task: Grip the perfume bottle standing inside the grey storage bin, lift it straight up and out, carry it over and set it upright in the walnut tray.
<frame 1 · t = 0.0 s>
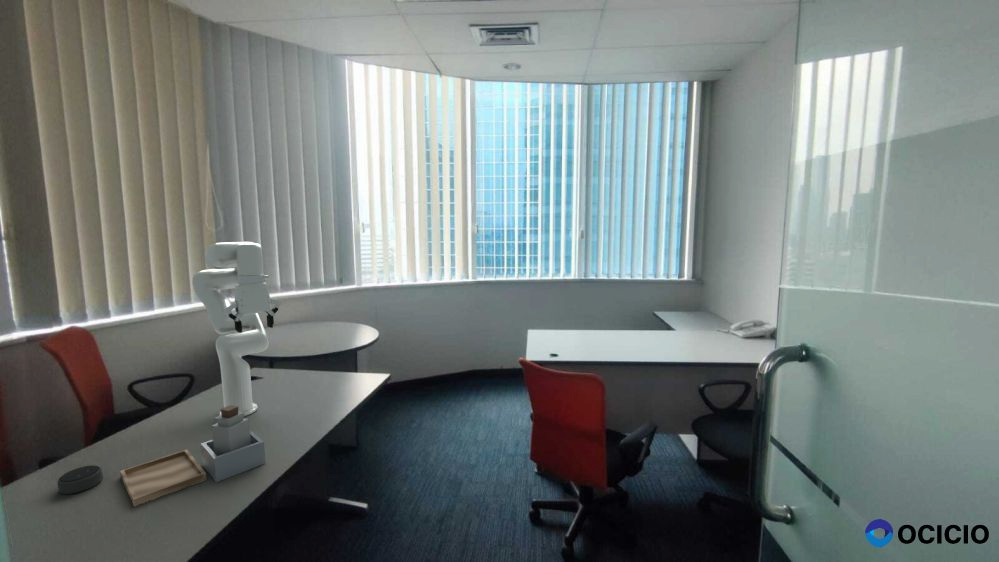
hand: (255, 329, 147), 37 cm above the table, tool pointing down, fingers open, 9 cm apart
smart speaker: (81, 486, 120), on the table
tray: (163, 478, 124), on the table
perfume bottle: (234, 464, 131), resting in grey storage bin
grey storage bin: (234, 464, 131), on the table
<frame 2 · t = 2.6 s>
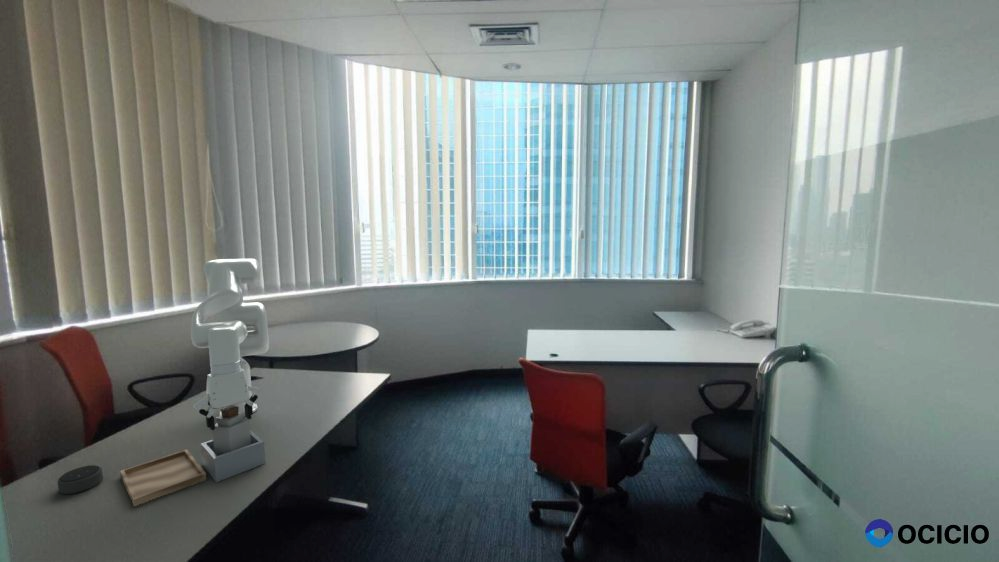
hand: (230, 423, 129), 13 cm above the table, tool pointing down, fingers open, 9 cm apart
perfume bottle: (234, 464, 131), resting in grey storage bin, touching gripper
everything else where it was.
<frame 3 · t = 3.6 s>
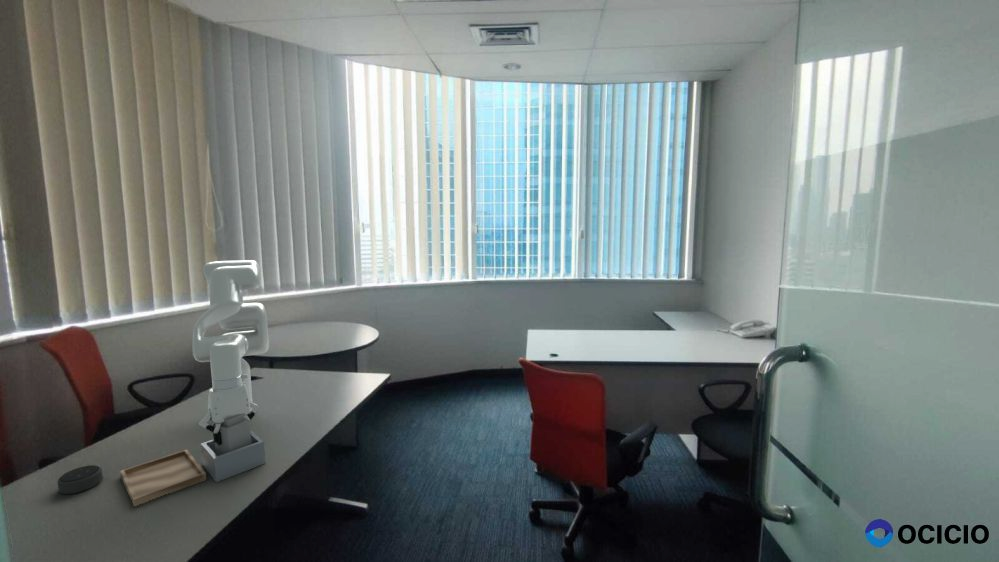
hand: (232, 438, 130), 8 cm above the table, tool pointing down, fingers closed on perfume bottle, 6 cm apart
perfume bottle: (235, 464, 131), resting in grey storage bin, touching gripper
everything else where it was.
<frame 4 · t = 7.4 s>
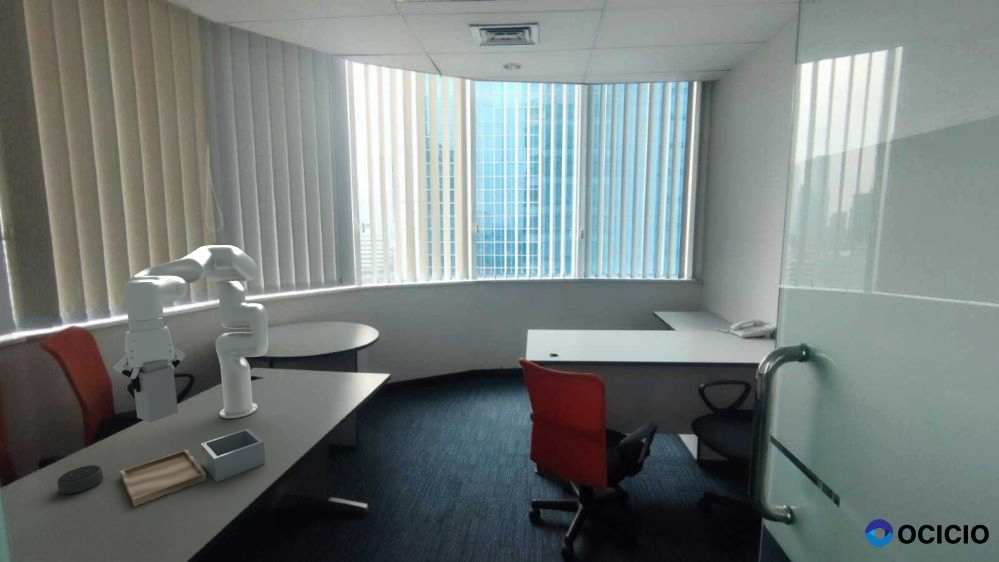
hand: (154, 386, 120), 27 cm above the table, tool pointing down, fingers closed on perfume bottle, 6 cm apart
perfume bottle: (158, 415, 121), point 19 cm above the table, touching gripper
everything else where it was.
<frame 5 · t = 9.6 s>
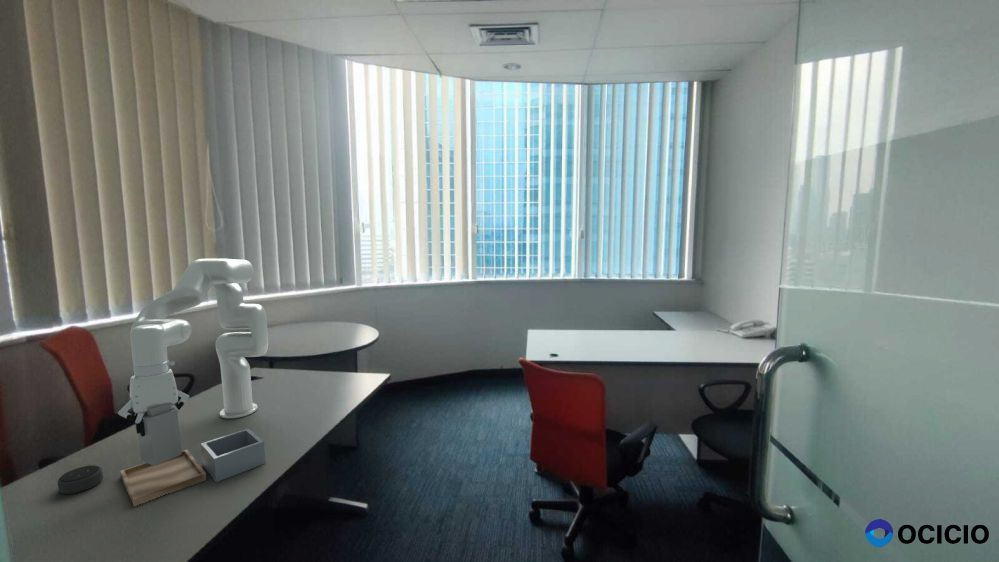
hand: (158, 429, 122), 15 cm above the table, tool pointing down, fingers closed on perfume bottle, 6 cm apart
perfume bottle: (161, 458, 123), point 6 cm above the table, touching gripper
everything else where it was.
when the fingers open (10 cm above the table, at t = 11.2 s): perfume bottle moves 1 cm, resting on tray.
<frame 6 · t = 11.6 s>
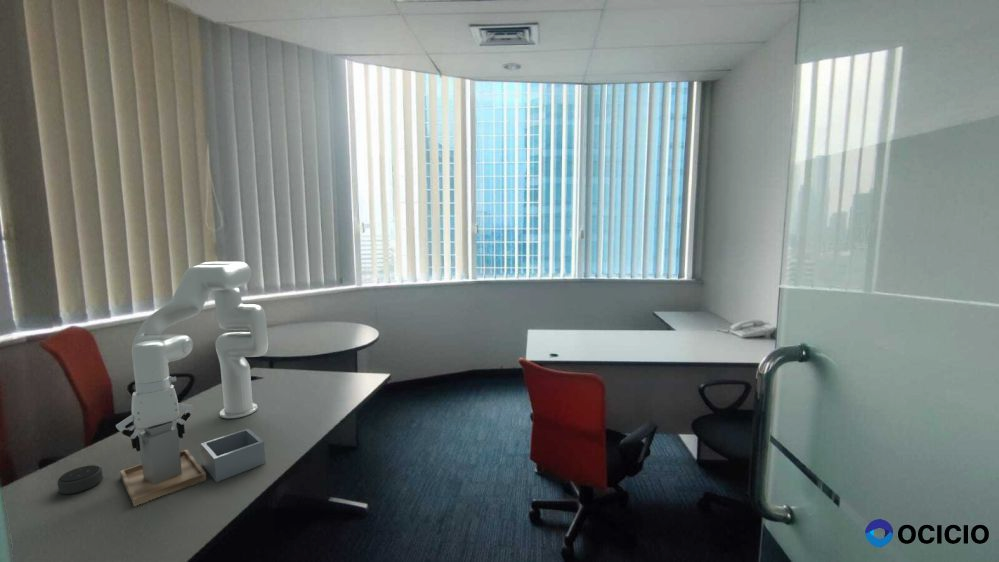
hand: (159, 442, 122), 11 cm above the table, tool pointing down, fingers open, 9 cm apart
perfume bottle: (163, 476, 124), point 1 cm above the table, touching tray
everything else where it was.
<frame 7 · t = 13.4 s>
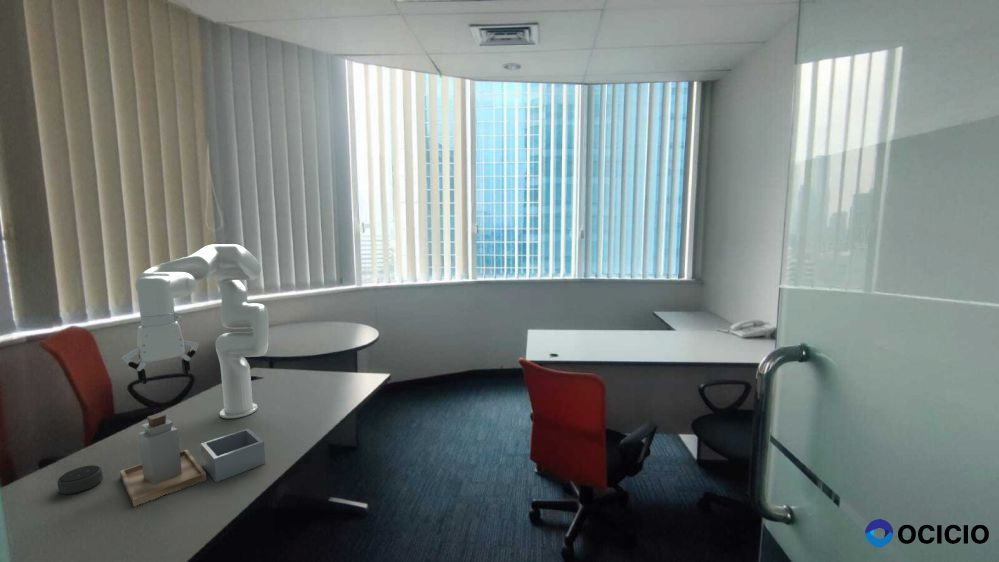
hand: (165, 378, 123), 29 cm above the table, tool pointing down, fingers open, 9 cm apart
nothing on the table moved.
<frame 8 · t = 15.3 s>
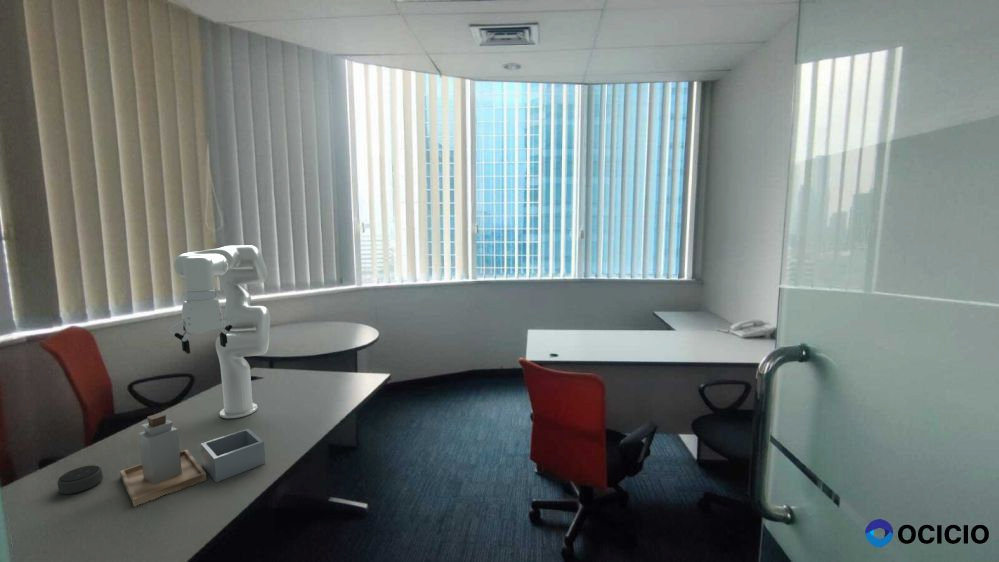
hand: (205, 349, 136), 33 cm above the table, tool pointing down, fingers open, 9 cm apart
nothing on the table moved.
at the end: perfume bottle inside the target area on the tray (0.2 cm from its centre), point 0.6 cm above the tray's base; perfume bottle tilted 0°; the gripper is holding nothing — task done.
